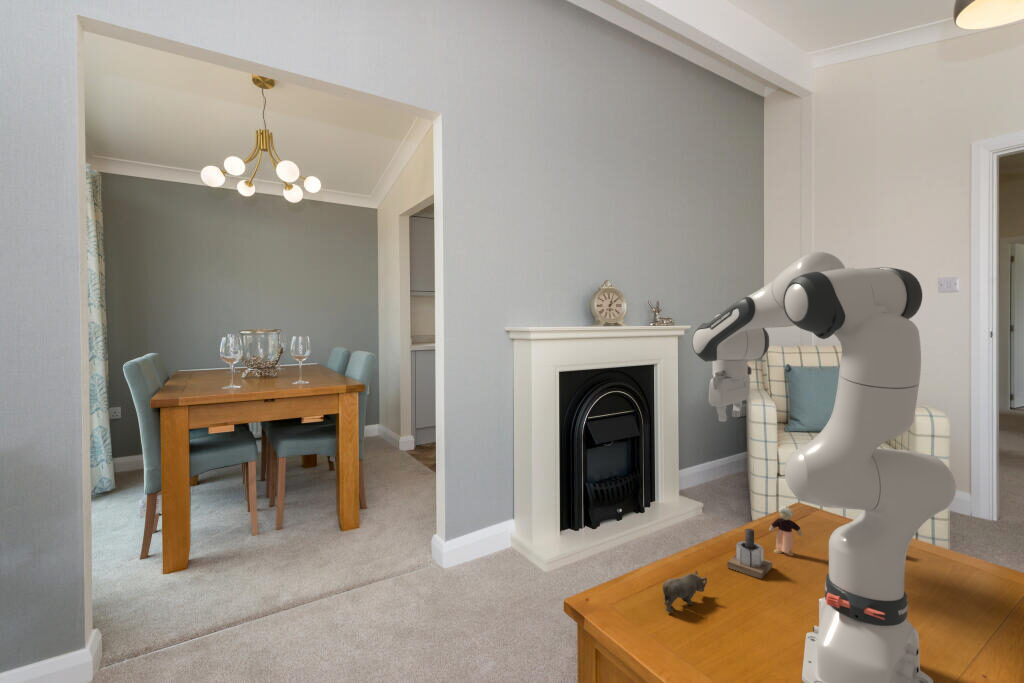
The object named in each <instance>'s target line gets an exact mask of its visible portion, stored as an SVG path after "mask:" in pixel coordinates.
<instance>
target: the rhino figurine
mask: <svg viewBox="0 0 1024 683" xmlns="http://www.w3.org/2000/svg"><path fill="white" fill-rule="evenodd" d="M707 582H708V578H707V576H704V577H701V576H700V575H699V573H698V570H695V572H694V573H687V574H685V575H683V576H681V577H677V578H670V579H667V580H666V581H664V583H663V584H662V593H663V596H664V605H665V606H666V608H665V611H666V612H668V613H673V612H674V608H673V607H672V605H673V603H674V602H675V601H676V600H677V599H678V598H679V599H682V600H683V601H685V602H686V604H687V605H689V606H693V605H694V602H693V601H692V598H693V597H694V595H695V594H696V593H697V592H699V593H703V592H704V591H705V588H706V585H707Z"/></svg>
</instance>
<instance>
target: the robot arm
mask: <svg viewBox="0 0 1024 683" xmlns="http://www.w3.org/2000/svg"><path fill="white" fill-rule="evenodd" d="M922 301H923V289H922V286H921V283H920V282H919V280H918V278H917V277H916V276H915V275H914V274H913V273H911V272H909V271H908V270H904V269H900V268H895V267H886V266H883V267H882V266H881V267H869V268H862V267H861V268H854V267H847V268H846V267H845V265H844V263H843V261H842V260H840V259H839V257H837V256H835V255H833V254H831V253H828V252H824V251H814V252H810V253H807V254H805V255H802V256H801V257H800V258H798V259H797V260H795V261H794V262H792V263H791V264H790V265H788V266H787V267H786V268H785V269H783V270H782V271H781V272H780V273H779V274H778V275H777V276H776V277H775V278H774V279H773V280H771V281H770V282H769V283H767V284H766V285H764V286H763V287H761V288H760V289H758V290H756V291H755V292H753V293H751V294H750V295H747V296H745V297H743V298H741V299H739V300H737V301H736V302H734V303H733V304H731V305H730V306H729V307H728V308H726V309H725V310H723V312H720V313H718V314H716V315H715V317H714V318H713V319H712V320H711V321H709V322H703V323H702V324H700V325H699V326H698V327H697V328H696V330H695V331H694V333H693V335H692V341H691V343H692V350H693V352H694V353H695V354H696V355H697V357H699V358H700V359H702V360H703V361H704V362H706V363H707V362H712V376H713V377H712V378H711V379H710V381H709V386H708V388H709V390H708V391H709V392H708V403H709V405H710V406H711V407H716V408H715V409H716V413H717V415H718V421H719V422H721V423H722V422H723V423H725V422H727V421H728V415H727V413H726V410H727V406H729V405H732V406H733V407H732V410H731V417H732V418H739V417H740V416H741V409H742V405H743V401H747V400H748V399H749V396H750V388H751V377H750V376H752V374H753V373H752V372H753V368H752V367H751V366H749V364H748V361H750V360H751V361H754V360H758V359H759V360H760V359H761V358H763V357H764V356H765V355H766V353H767V352H768V350H769V347H770V335H769V333H768V331H767V329H769V328H770V329H773V328H787V327H793V326H795V327H798V328H799V329H802V331H803V330H804V331H806V332H809V333H812V334H814V335H815V336H816V337H817V338H818V339H822V340H825V339H829V338H830V337H831V336H833V335H834V336H835V337H836V338H837V340H838V341H839V343H840V345H841V346H840V348H841V357H840V358H841V359H840V363H839V369H838V370H839V371H838V380H837V381H838V382H837V387H836V394H835V400H834V406H833V408H832V409H833V410H832V413H831V415H830V418H828V419H829V420H828V421H827V423H826V425H825V426H824V427H823V428H822V430H821V431H820V432H819V433H818V434H817V435H816V436H815V437H814V438H813V439H812V440H811V441H809V442H808V443H806V444H804V445H803V446H801V447H799V448H796V449H795V450H794V451H793V452H791V454H790V455H789V456H788V458H787V460H786V462H785V466H784V478H785V482H786V485H787V486H788V488H789V490H790V491H791V493H792V494H793V495H794V497H796V499H797V500H798V501H801V502H804V503H808V504H812V505H815V506H819V507H823V508H827V509H828V508H829V509H843V510H857V511H861V512H860V513H859V515H857V517H856V518H855V519H853V520H852V521H850V522H848V523H846V524H843V525H840V526H838V527H837V528H835V530H834V531H832V533H831V534H830V537H829V539H828V573H826V578H825V583H824V597H821V598H819V599H818V608H819V609H818V616H819V617H818V620H819V621H818V625H813V627H812V631H809V632H807V633H806V635H805V639H804V640H805V643H804V651H803V652H804V653H803V662H802V671H801V673H802V674H801V681H802V682H803V683H934V680H933V679H932V678H931V677H930V676H929V675H928V674H926V673H925V672H924V671H922V670H921V665H920V661H921V660H920V638H919V636H920V635H919V632H918V631H917V630H916V628H915V627H914V626H913V625H912V623H911V622H910V621H909V620H908V609H909V601H908V594H907V593H906V591H905V572H906V570H905V569H906V560H907V554H908V553H907V552H908V549H909V546H910V544H911V542H912V539H913V538H914V537H915V535H916V534H917V532H918V531H919V529H920V528H922V526H923V525H924V524H925V523H926V522H928V521H929V519H931V518H932V517H935V515H937V514H939V513H941V512H943V511H945V510H946V509H948V508H949V507H950V505H951V504H952V503H953V501H954V500H955V497H956V491H957V490H956V489H957V485H956V481H955V477H954V474H953V473H952V471H951V470H950V468H949V467H948V466H947V465H946V464H945V462H944V461H943V460H941V459H940V458H938V457H937V456H935V455H932V454H928V453H927V454H926V453H923V452H918V451H914V450H913V451H912V450H907V449H894V448H893V449H892V448H879V447H881V445H883V444H884V443H886V442H888V441H890V440H893V439H894V438H897V437H900V436H902V435H903V434H905V433H906V432H907V431H908V430H910V428H911V427H912V425H913V424H914V421H915V415H916V408H917V400H918V396H919V395H918V394H919V387H920V381H921V374H922V373H921V370H922V350H921V349H922V347H921V338H920V331H919V329H918V326H917V325H916V324H915V323H914V322H913V321H912V320H910V319H912V318H913V317H914V316H915V315H916V314H917V313H918V312H919V310H920V308H921V305H922Z"/></svg>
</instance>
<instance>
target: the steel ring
mask: <svg viewBox="0 0 1024 683" xmlns="http://www.w3.org/2000/svg"><path fill="white" fill-rule="evenodd" d="M735 545H736V548H735V550H736V553H735V555H736V560H737V561H738V562H739V563H740V564H742V565H744V566H748V567H761V566H762V565H763V564H764V560H763V559H764V547H763V546H762V545H760V544H759V543H756V542H754V550H750V549H747V548H745V540H744V541H743V540H742V541H741V540H740V541H738V542H737V543H736V544H735Z"/></svg>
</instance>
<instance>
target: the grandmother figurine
mask: <svg viewBox="0 0 1024 683" xmlns="http://www.w3.org/2000/svg"><path fill="white" fill-rule="evenodd" d="M778 514H779V516H780V517H779V518H776V519H775V520H774V521H773V522H772V523H771V525H770V526H769V529H768V531H769V532H771V533H772V532H774V530H775V529H776V528H777V533H776V539H775V541H776V542H775V549H774V550H773V553H775V554H779V555H782V554H783V553H784V554H785V555H786V556H790V557H792V556H794V553H793V552H792V551H793V548H794V547H793V546H794V545H793V544H794V534H793V530H794V531H796V532H797V535H798V536H800V537H802V536H803V532H802V530H801V527H800V526H799V524H797V523H796V522H795V521H793V520H791V517H793V515H794V513H793V511H792V509H791V508H790V507H788V506H787V505H786V506H785V505H781V506H780V507H779V508H778Z"/></svg>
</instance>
